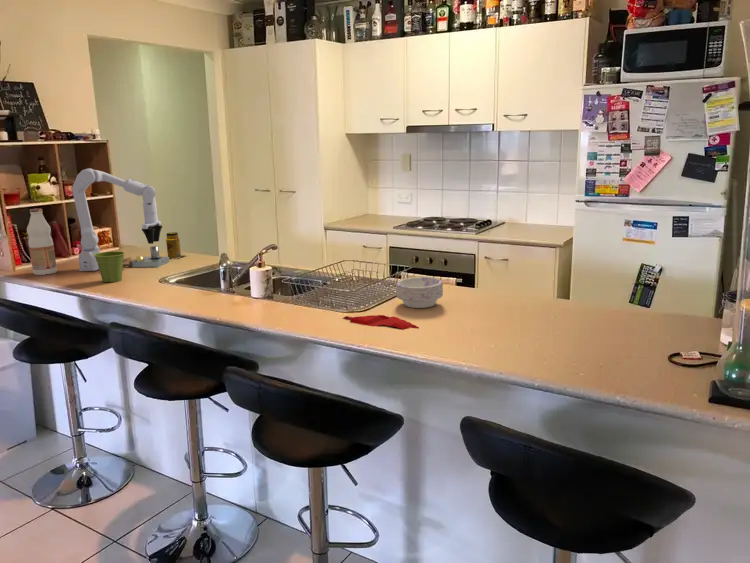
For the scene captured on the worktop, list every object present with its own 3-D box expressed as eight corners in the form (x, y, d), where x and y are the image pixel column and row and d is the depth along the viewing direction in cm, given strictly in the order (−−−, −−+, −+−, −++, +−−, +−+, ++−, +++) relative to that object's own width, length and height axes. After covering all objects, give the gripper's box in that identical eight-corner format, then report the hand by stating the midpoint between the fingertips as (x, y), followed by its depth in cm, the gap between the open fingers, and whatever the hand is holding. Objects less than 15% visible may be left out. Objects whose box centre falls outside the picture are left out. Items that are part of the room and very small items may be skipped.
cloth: (431, 326, 186) (431, 318, 186) (403, 338, 176) (402, 330, 175) (364, 312, 203) (364, 305, 202) (335, 322, 192) (335, 315, 192)
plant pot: (114, 284, 248) (110, 256, 246) (90, 283, 252) (86, 255, 250) (134, 278, 259) (131, 251, 257) (111, 277, 263) (107, 250, 261)
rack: (131, 266, 284) (131, 261, 283) (116, 266, 284) (116, 262, 284) (143, 261, 295) (143, 256, 295) (129, 261, 296) (129, 257, 295)
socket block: (158, 267, 281) (157, 261, 281) (132, 267, 282) (132, 261, 282) (169, 261, 293) (168, 256, 292) (144, 261, 294) (144, 256, 294)
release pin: (141, 266, 283) (141, 257, 282) (136, 266, 283) (135, 257, 282) (144, 264, 286) (143, 256, 285) (138, 264, 286) (138, 256, 285)
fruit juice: (35, 276, 268) (25, 210, 262) (31, 273, 275) (21, 209, 269) (59, 273, 274) (50, 208, 267) (54, 269, 281) (45, 207, 274)
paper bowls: (387, 305, 208) (386, 282, 206) (417, 296, 218) (417, 274, 216) (421, 313, 197) (421, 289, 195) (452, 304, 207) (452, 280, 206)
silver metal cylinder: (158, 264, 287) (156, 247, 285) (150, 264, 287) (148, 247, 286) (161, 263, 290) (159, 245, 289) (153, 263, 291) (152, 246, 289)
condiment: (164, 258, 302) (161, 233, 299) (175, 255, 310) (172, 231, 307) (176, 259, 300) (174, 234, 297) (187, 255, 307) (185, 231, 305)
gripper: (151, 214, 276) (155, 245, 279) (165, 210, 290) (168, 239, 293) (136, 214, 277) (139, 245, 280) (151, 210, 291) (154, 239, 294)
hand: (153, 242), depth 287 cm, fingers open, 5 cm apart
